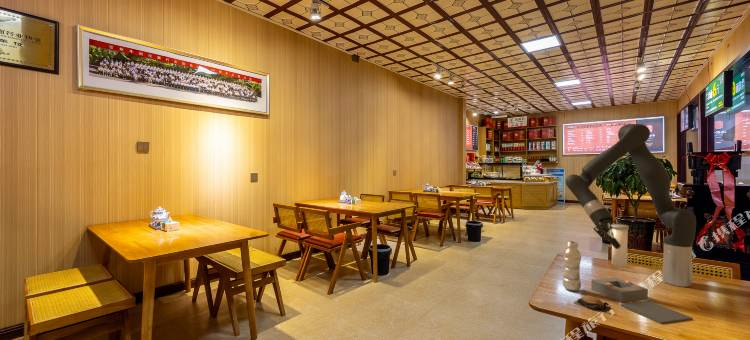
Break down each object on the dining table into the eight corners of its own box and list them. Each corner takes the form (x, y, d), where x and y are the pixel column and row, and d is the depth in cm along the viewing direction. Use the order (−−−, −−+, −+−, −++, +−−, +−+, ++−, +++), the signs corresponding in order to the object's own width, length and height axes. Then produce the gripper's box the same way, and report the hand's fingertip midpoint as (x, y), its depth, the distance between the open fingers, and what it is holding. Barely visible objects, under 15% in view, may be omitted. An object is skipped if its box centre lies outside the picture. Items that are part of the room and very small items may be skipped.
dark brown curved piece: (571, 305, 124) (571, 295, 124) (581, 299, 129) (581, 290, 129) (604, 315, 116) (604, 305, 116) (613, 309, 121) (613, 299, 121)
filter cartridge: (618, 262, 137) (618, 223, 136) (631, 266, 131) (632, 226, 131) (607, 263, 135) (607, 224, 135) (620, 267, 130) (621, 227, 130)
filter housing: (616, 286, 141) (616, 275, 141) (647, 299, 129) (648, 286, 129) (591, 289, 138) (591, 278, 138) (621, 302, 126) (621, 289, 126)
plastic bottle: (583, 293, 134) (584, 244, 133) (565, 292, 135) (566, 243, 135) (577, 287, 140) (578, 240, 140) (560, 286, 142) (561, 240, 141)
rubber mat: (649, 302, 126) (649, 300, 126) (692, 319, 112) (692, 317, 112) (620, 305, 122) (620, 304, 122) (660, 323, 109) (660, 322, 109)
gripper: (589, 208, 138) (616, 243, 127) (616, 206, 142) (645, 241, 130) (578, 218, 144) (603, 253, 132) (605, 217, 147) (631, 251, 136)
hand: (624, 247), depth 131 cm, fingers closed on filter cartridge, 5 cm apart
